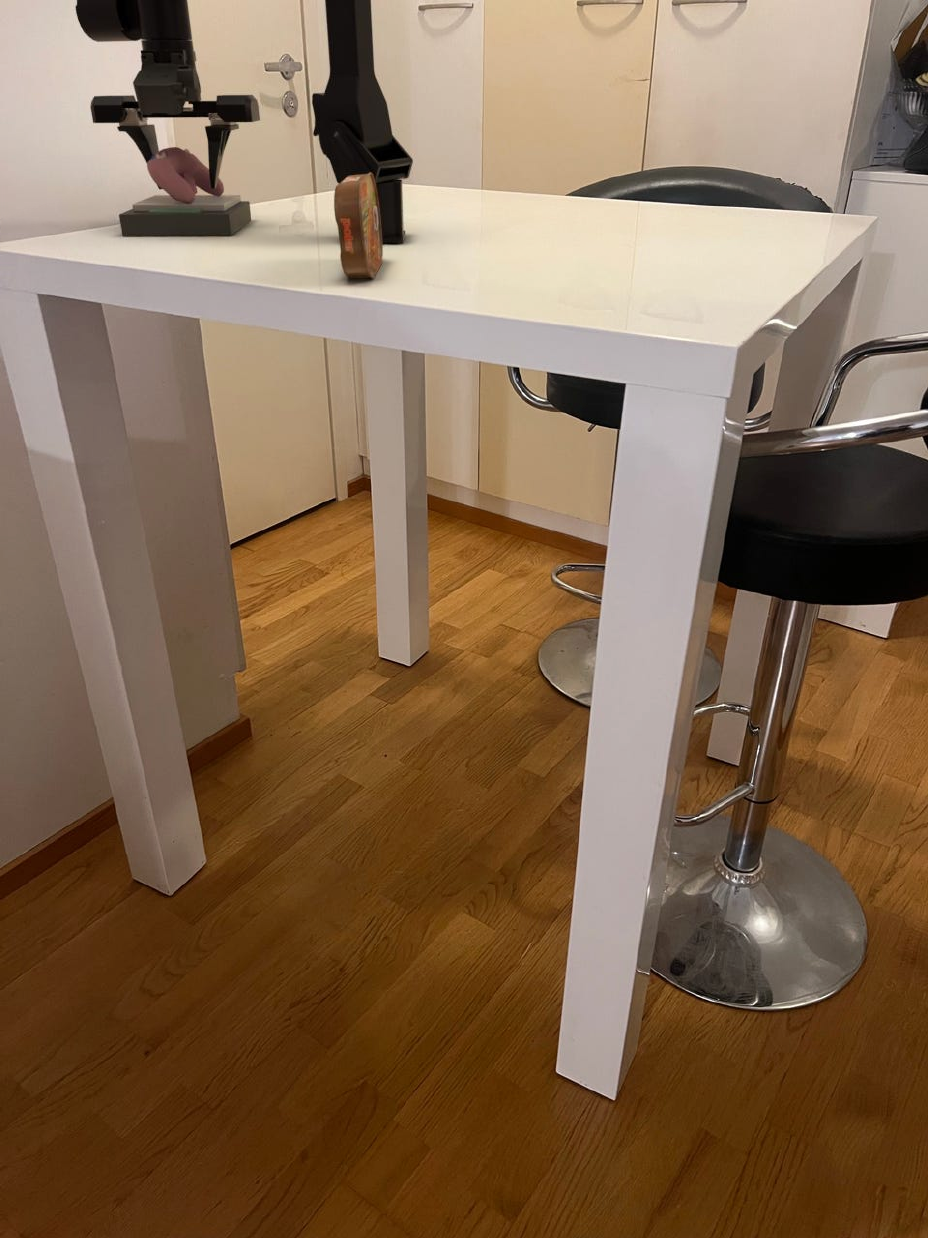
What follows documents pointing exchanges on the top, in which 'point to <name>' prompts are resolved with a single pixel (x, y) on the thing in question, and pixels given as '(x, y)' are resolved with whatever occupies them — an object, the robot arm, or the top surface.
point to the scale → (186, 216)
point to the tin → (359, 225)
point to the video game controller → (181, 174)
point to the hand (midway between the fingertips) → (187, 188)
